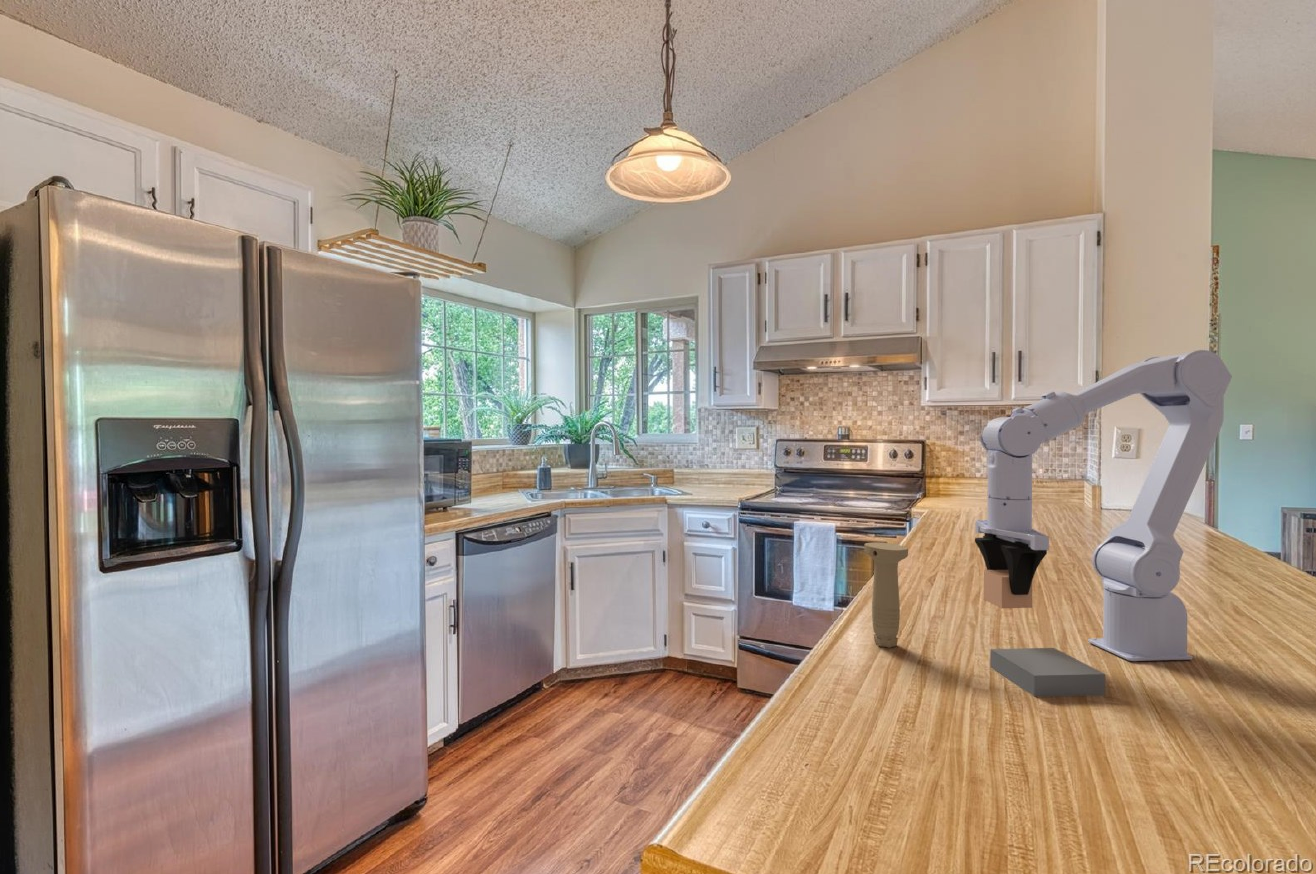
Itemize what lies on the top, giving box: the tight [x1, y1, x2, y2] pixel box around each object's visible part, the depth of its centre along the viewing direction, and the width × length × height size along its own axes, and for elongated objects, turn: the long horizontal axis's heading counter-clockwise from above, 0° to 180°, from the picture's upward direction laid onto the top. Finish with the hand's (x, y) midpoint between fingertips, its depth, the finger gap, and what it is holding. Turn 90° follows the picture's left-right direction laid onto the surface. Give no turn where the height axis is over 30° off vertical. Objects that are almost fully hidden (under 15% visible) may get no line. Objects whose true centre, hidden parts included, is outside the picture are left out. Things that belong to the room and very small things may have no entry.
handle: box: [863, 541, 909, 649], centre depth 92 cm, size 5×6×15 cm
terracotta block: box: [983, 569, 1033, 609], centre depth 90 cm, size 4×4×4 cm
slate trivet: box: [989, 647, 1106, 698], centre depth 79 cm, size 9×9×3 cm
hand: (1008, 589), depth 90 cm, fingers closed on terracotta block, 4 cm apart
